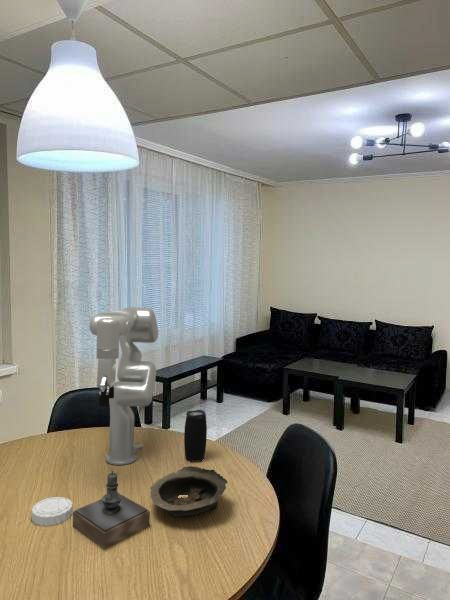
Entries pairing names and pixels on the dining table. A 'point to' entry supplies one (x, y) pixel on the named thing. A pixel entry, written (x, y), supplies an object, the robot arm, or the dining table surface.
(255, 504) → the dining table surface
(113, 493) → the black chess piece
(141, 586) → the dining table surface
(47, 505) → the mooncake
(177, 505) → the stone bowl
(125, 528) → the walnut base
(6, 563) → the dining table surface
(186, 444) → the portable speaker
